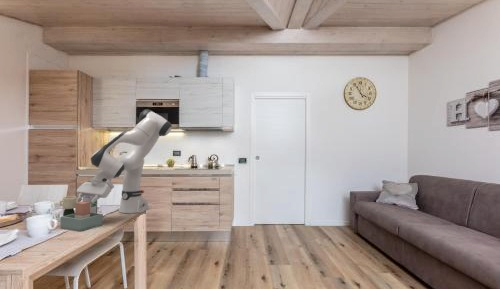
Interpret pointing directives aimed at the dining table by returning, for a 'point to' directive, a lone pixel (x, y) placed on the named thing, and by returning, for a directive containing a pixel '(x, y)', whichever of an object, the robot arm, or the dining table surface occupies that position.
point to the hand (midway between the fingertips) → (84, 201)
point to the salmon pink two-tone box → (82, 210)
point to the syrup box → (92, 205)
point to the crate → (81, 222)
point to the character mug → (68, 205)
